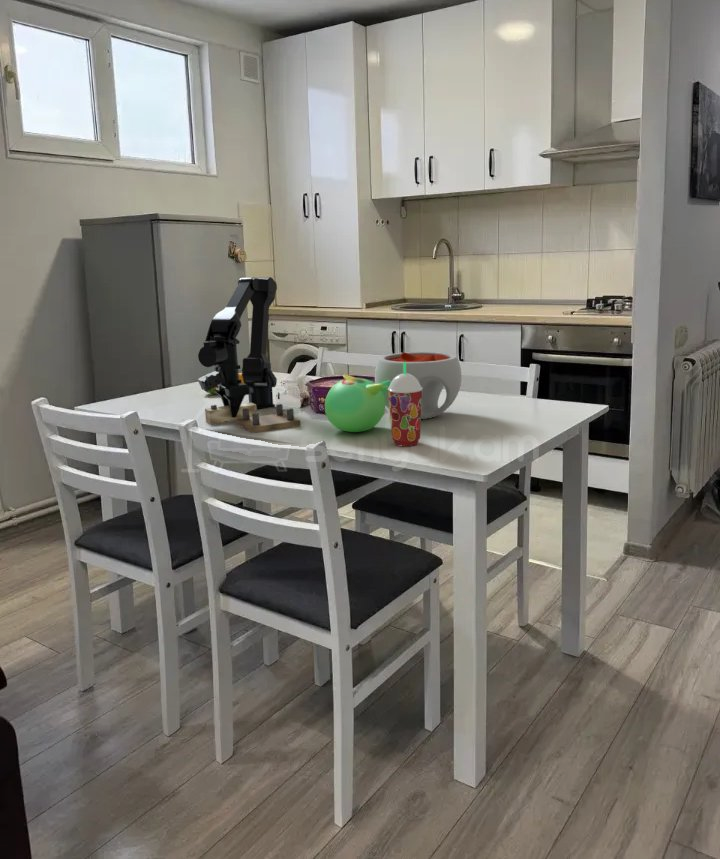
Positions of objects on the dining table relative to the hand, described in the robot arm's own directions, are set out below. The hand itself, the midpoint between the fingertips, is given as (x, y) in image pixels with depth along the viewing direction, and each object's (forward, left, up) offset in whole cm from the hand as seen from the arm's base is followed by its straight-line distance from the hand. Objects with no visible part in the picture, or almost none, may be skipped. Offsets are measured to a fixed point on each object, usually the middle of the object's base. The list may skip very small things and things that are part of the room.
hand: (231, 415), depth 219 cm
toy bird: (-23, +34, -1) cm, 41 cm away
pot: (-45, +29, -1) cm, 54 cm away
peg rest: (-6, +14, -1) cm, 15 cm away
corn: (-14, -44, -1) cm, 46 cm away
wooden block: (0, 0, -1) cm, 1 cm away
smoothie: (-26, +53, -1) cm, 59 cm away
